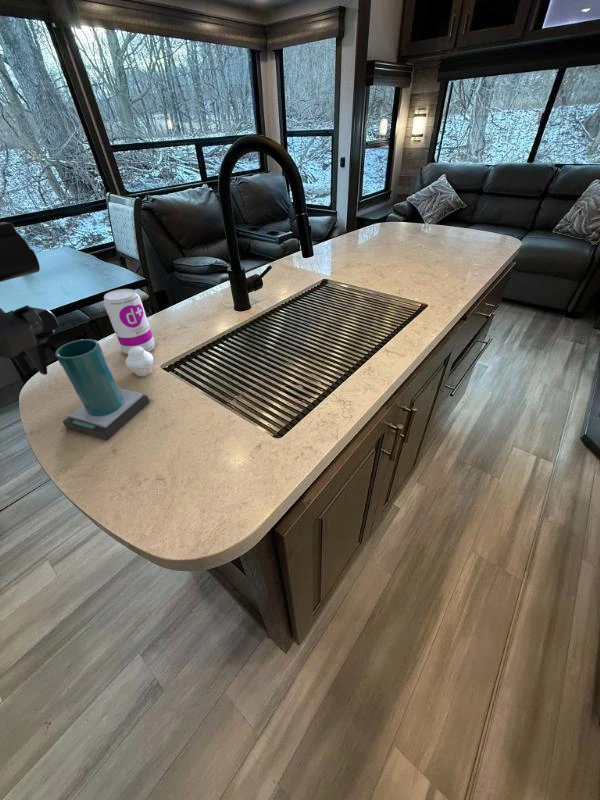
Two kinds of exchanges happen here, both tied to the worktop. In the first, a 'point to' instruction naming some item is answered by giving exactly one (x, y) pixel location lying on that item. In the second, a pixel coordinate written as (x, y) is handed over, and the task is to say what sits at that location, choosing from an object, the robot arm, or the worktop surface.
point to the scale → (107, 417)
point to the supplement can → (128, 319)
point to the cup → (90, 376)
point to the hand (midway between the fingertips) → (18, 389)
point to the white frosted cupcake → (139, 361)
